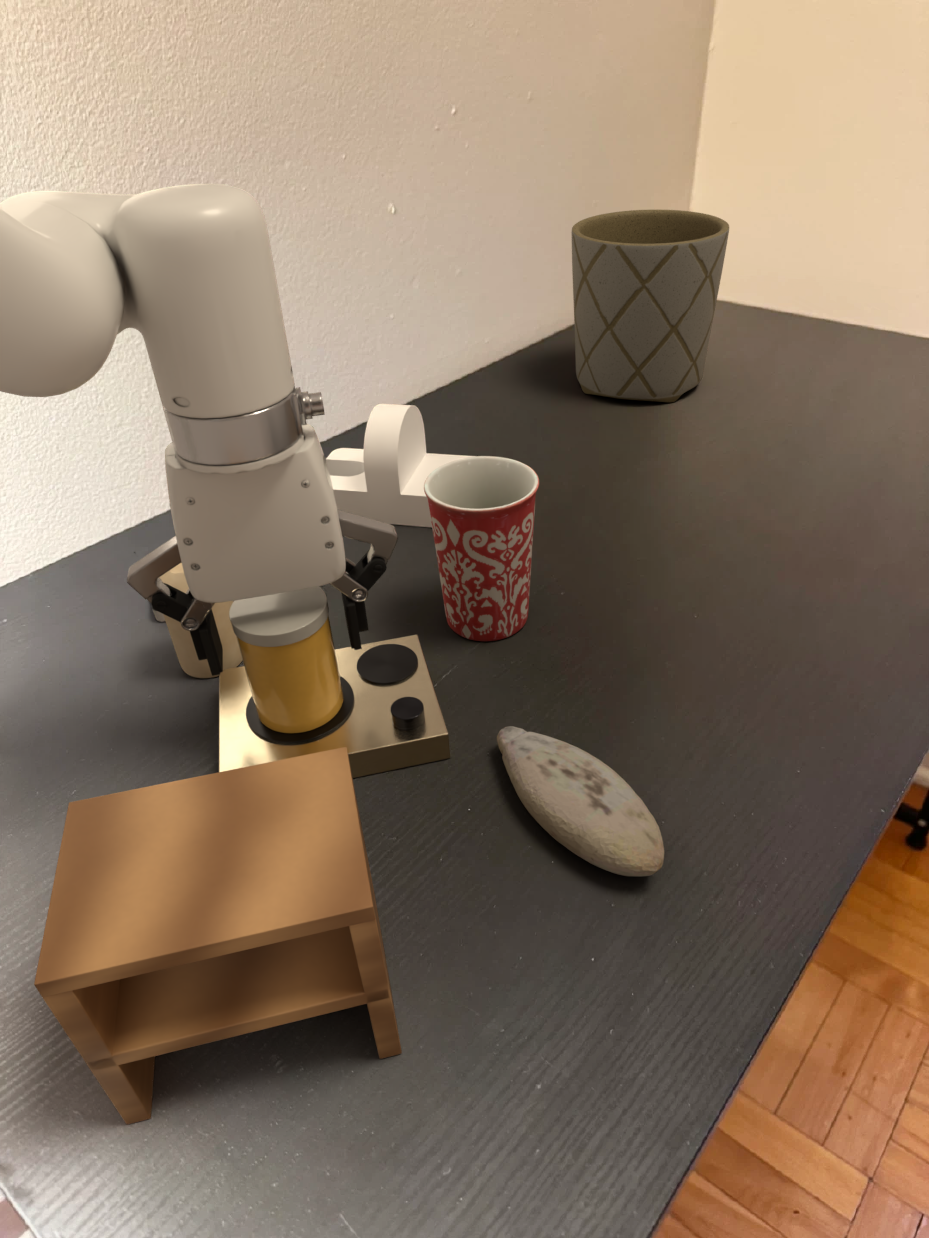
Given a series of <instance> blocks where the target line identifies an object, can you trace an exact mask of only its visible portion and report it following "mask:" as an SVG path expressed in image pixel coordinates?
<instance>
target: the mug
mask: <svg viewBox="0 0 929 1238" xmlns="http://www.w3.org/2000/svg"><path fill="white" fill-rule="evenodd" d="M475 456H476V457H468V458H463V459H458V460H455V461H451V462H449V463H446V464H444V465H442V466H440V467H438V468H437V469H435V470H434V471H433V472H432V473H430V474H429V476H428V477H427V478H426V480H425V483H424V492H425V495H426V496H427V498H428V504H429V510H430V516H431V523H432V527H431V528H432V535H433V542H434V548H435V553H436V560H437V561H436V562H437V568H438V575H439V581H440V586H441V592H442V599H443V605H444V613H445V617H446V623H447V625H448V626H449V628H450V629H451V630H452V631H453V632H454V633H455V634H457V635H459V636H460V637H462V638H465V639H467V640H471V641H476V642H495V641H501V640H504V639H507V638H509V637H511V636H514V635H515V634H517V633H518V632H519V631H520V630H521V629H522V628H524V626H525V625H526V623H527V621H528V617H529V611H530V610H529V608H530V591H531V590H530V589H531V575H532V559H533V558H532V557H533V542H534V528H535V513H536V511H535V510H536V495H537V491H538V489H539V487H540V479H539V475H538V474H537V472H536V471H535V470H534V469H533V468H532V467H530V466H529V465H527V464H526V463H523V462H521V461H519V460H516V459H512V458H508V457H503V456H492V455H478V456H477V455H475Z"/></svg>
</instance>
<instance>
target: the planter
mask: <svg viewBox="0 0 929 1238" xmlns="http://www.w3.org/2000/svg"><path fill="white" fill-rule="evenodd" d="M729 233H730V224H729V223H728V222H727V221H726V220H725V219H722V218H721V217H717V216H715V215H712V214H708V213H703V212H696V211H690V210H678V209H634V210H632V209H631V210H622V211H614V212H606V213H601V214H597V215H593V216H589V217H587V218H584V219H582V220H579V221H578V222H575V223H574V225H572V227H571V268H572V269H571V271H572V272H571V274H572V296H573V297H572V299H573V321H574V351H575V353H574V354H575V355H574V356H575V375H576V379H577V381H578V383H579V385H580V388H581V390H582V392H583V393H584V394H586V395H593V396H599V397H606V398H613V399H620V400H626V401H627V400H628V401H641V402H642V401H643V402H644V401H645V402H658V403H668V404H669V403H670V404H671V403H675V402H676V401H677V400H679V398H680V397H681V396H682V395H683V394H684V393H686V392H688V391H690V390H692V389H694V388H695V387H697V386H698V385H699V384H700V383H701V381H702V379H703V375H704V372H705V371H704V370H705V366H706V359H707V355H708V354H707V353H708V350H709V343H710V338H711V332H712V326H713V322H714V316H715V311H716V306H717V302H718V301H717V300H718V295H719V290H720V286H721V285H720V284H721V279H722V274H723V269H724V263H725V258H726V252H727V245H728V239H729Z"/></svg>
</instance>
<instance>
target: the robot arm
mask: <svg viewBox="0 0 929 1238" xmlns="http://www.w3.org/2000/svg"><path fill="white" fill-rule="evenodd" d="M266 220H267V219H266V217H265V213H264V211H263V208H262V206H261V204H260V203H259V201H258V200H257V199H256V198H255V197H254V195H253V194H251V193H250V192H248V191H247V190H245V189H244V188H241V187H239V186H234V185H231V184H225V183H224V184H223V183H193V184H180V185H172V186H165V187H160V188H157V189H156V188H155V189H151V190H147V191H143V192H139V193H138V194H137V193H136V194H135V193H133V194H127V193H126V194H125V193H99V192H98V193H97V192H83V191H82V192H81V191H66V190H33V191H27V192H21V193H18V194H15V195H13V196H12V195H11V196H10V197H8V198H5V199H4V200H3V201H1V202H0V392H2V393H5V394H6V393H7V394H9V395H15V396H19V397H25V398H50V397H55V396H60V395H64V394H66V393H70V392H72V391H74V390H77V389H78V388H80V387H81V386H83V385H85V384H87V382H89V381H90V380H91V379H93V378H94V377H95V376H96V375H97V374H98V372H99V371H100V370H101V369H102V368H103V366H104V365H105V363H106V361H107V359H108V358H109V356H110V354H111V352H112V349H113V347H114V344H115V341H116V339H117V336H118V335H119V334H120V333H122V332H124V330H126V329H134V330H136V331H138V332H139V333H140V334H141V336H142V338H143V342H144V345H145V348H146V351H147V355H148V359H149V363H150V366H151V370H152V374H153V377H154V381H155V384H156V388H157V391H158V395H159V400H160V403H161V406H162V407H161V408H162V410H163V413H164V418H165V421H166V424H167V428H168V431H169V435H170V439H171V442H170V443H169V444H168V445H167V446H166V447H165V449H164V466H165V467H164V468H165V478H166V486H167V494H168V501H169V508H170V513H171V520H172V524H173V529H174V534H175V535H174V536H173V537H171V538H170V539H168V540H167V541H165V542H164V543H161V545H159V546H158V547H156V548H155V549H153V550H152V551H151V552H149V553H148V554H146V555H145V556H143V557H142V558H140V559H139V560H137V561H135V562H134V563H133V564H131V565H129V567H128V570H127V576H126V582H127V584H128V585H129V586H130V587H131V588H132V590H134V591H135V592H136V593H138V594H139V595H140V596H141V597H142V598H143V599H144V600H147V601H148V602H149V603H150V604H151V605H150V606H151V608H152V607H153V609H155V610H156V611H158V612H160V613H162V614H164V615H166V616H168V617H170V618H172V619H174V620H177V621H179V622H181V626H182V628H183V629H185V630H187V631H190V634H191V637H192V640H193V644H194V647H195V650H196V653H197V657H198V659H199V660H205V659H207V661H208V664H209V667H210V671H211V674H212V676H215V675H220V673H221V672H223V648H222V644H221V640H220V636H219V633H218V629H217V626H216V622H215V619H214V615H213V612H212V607H213V605H214V604H215V603H221V602H229V601H235V600H241V599H247V598H254V597H260V596H266V595H272V594H278V593H283V592H289V591H295V590H301V589H307V588H312V587H317V586H319V587H322V586H326V585H330V586H332V587H333V588H334V589H336V590H337V591H338V592H340V593H341V599H342V605H343V610H344V617H345V618H344V619H345V623H346V629H347V634H348V638H349V644H350V647H351V649H355V650H359V649H362V647H361V645H362V641H361V635H360V633H362V632H367V631H369V622H368V616H367V610H366V609H367V608H366V603H365V602H366V600H367V599H368V597H369V591H370V590H371V588H372V587H373V586H374V585H375V584H376V583H377V582H378V580H379V579H381V577H382V576H383V575H384V574H385V573H386V571H387V564H388V562H389V560H390V559H391V558H392V555H393V553H394V551H395V548H396V546H397V543H398V542H399V541H398V540H399V537H398V534H397V530H396V527H395V526H394V524H388V523H384V522H380V521H377V520H373V519H370V518H366V517H363V516H359V515H355V514H352V513H348V512H345V511H341V510H338V509H337V505H336V501H335V497H334V492H333V487H332V483H331V478H330V474H329V470H328V467H327V463H326V457H325V453H324V450H323V447H322V445H321V442H320V439H319V437H318V435H317V432H316V430H315V428H314V426H312V425H311V424H309V423H308V422H307V420H313V419H314V417H318V416H325V415H326V413H325V407H324V399H323V395H322V392H321V391H318V392H311V393H309V391H302V390H301V387H300V386H297V387H296V385H295V378H294V371H293V366H292V362H291V355H290V349H289V345H288V344H289V343H288V338H287V333H286V326H285V322H284V316H283V309H282V303H281V297H280V293H279V287H278V281H277V274H276V269H275V264H274V257H273V253H272V246H271V241H270V234H269V230H268V225H267V222H266ZM344 538H347V539H351V540H354V541H358V542H362V543H366V544H370V548H369V550H367V551H366V553H365V554H363V556H361V558H360V559H359V560H358V561H357V563H355V562H353V561H352V560H351V559H349V558H347V557H346V551H345V544H344ZM181 562H182V566H183V570H184V574H185V578H186V581H187V584H188V587H189V589H188V590H187V592H186V593H184V592H182V591H180V590H178V589H176V588H174V587H172V586H170V585H168V584H166V583H163V582H162V580H161V579H160V578H159V577H160V576H162V575H163V574H165V573H166V572H168V571H169V570H171V569H172V568H174V567H175V566H177V565H178V564H180V563H181ZM153 609H152V610H153Z"/></svg>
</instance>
